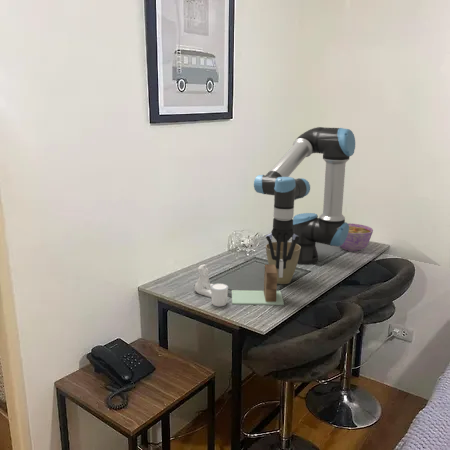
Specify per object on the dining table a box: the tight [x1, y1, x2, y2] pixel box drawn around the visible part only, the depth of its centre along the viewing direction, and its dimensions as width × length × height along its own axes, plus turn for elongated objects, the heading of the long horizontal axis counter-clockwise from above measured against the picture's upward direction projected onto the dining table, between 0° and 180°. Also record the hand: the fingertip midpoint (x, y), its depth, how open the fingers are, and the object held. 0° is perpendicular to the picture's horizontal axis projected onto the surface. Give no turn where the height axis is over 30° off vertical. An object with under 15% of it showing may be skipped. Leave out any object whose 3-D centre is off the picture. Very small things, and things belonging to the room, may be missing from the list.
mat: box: [231, 289, 285, 306], centre depth 181 cm, size 20×12×1 cm, turn 90°
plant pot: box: [265, 241, 301, 285], centre depth 197 cm, size 15×15×16 cm
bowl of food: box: [339, 222, 374, 252], centre depth 241 cm, size 20×20×12 cm
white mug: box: [210, 282, 229, 307], centre depth 175 cm, size 7×7×7 cm
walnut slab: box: [263, 264, 278, 302], centre depth 180 cm, size 4×9×12 cm, turn 0°
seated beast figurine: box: [194, 264, 214, 298], centre depth 184 cm, size 10×9×12 cm
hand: (280, 276), depth 179 cm, fingers closed
